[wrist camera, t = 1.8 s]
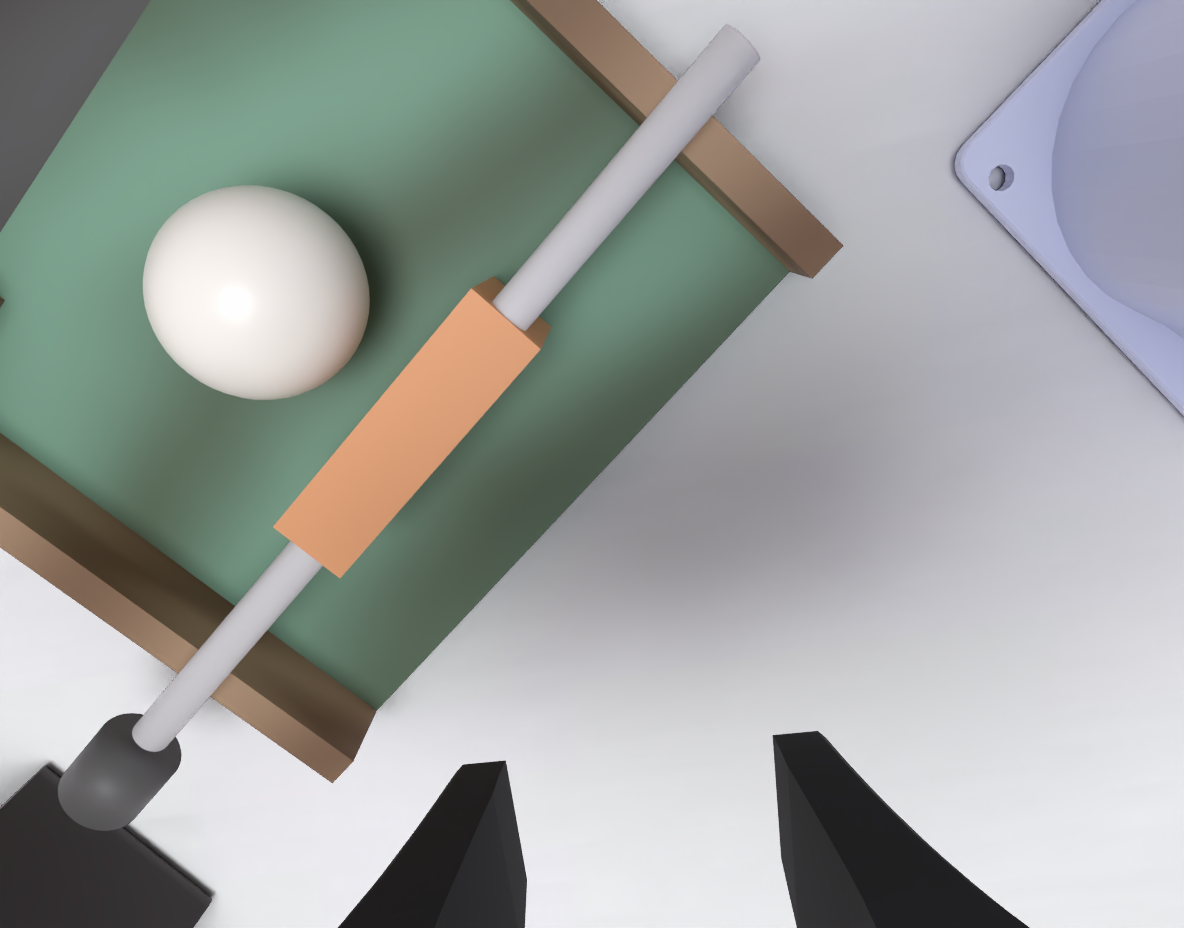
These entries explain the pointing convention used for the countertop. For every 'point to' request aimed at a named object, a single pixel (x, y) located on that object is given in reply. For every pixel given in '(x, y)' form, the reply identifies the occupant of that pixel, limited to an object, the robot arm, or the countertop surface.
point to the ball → (256, 292)
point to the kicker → (400, 442)
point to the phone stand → (83, 871)
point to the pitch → (396, 312)
